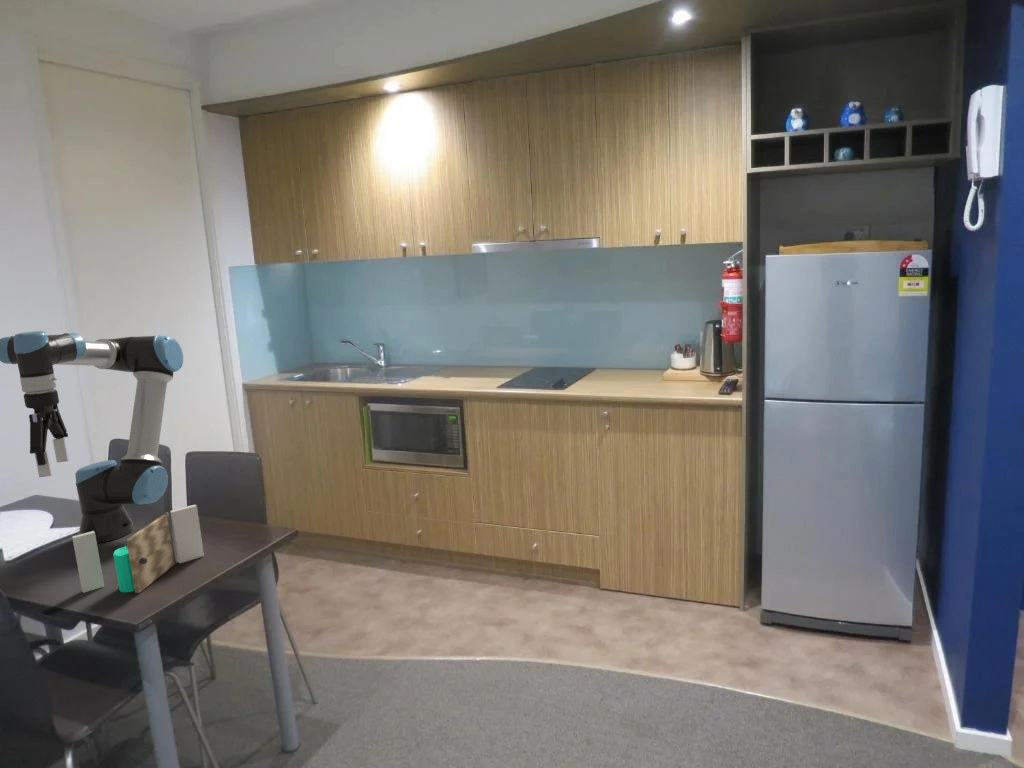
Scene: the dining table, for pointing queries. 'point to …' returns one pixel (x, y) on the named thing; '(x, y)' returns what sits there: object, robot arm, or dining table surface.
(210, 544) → the dining table surface
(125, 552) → the candle
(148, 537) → the door
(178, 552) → the door frame
